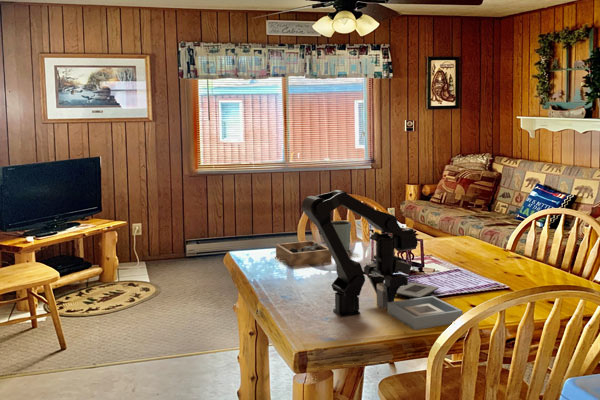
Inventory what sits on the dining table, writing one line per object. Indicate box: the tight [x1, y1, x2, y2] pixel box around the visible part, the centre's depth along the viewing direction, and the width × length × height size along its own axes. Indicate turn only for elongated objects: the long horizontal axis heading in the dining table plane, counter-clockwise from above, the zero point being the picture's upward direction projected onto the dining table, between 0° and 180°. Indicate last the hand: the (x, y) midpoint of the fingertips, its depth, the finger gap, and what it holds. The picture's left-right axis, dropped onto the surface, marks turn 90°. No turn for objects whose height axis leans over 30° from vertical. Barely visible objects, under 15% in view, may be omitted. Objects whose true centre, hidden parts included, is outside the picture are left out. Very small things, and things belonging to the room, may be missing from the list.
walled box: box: [387, 295, 464, 331], centre depth 202 cm, size 16×16×4 cm
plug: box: [376, 282, 395, 309], centre depth 214 cm, size 4×4×7 cm
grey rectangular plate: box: [395, 282, 440, 299], centre depth 226 cm, size 13×10×2 cm
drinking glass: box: [331, 220, 352, 253], centre depth 291 cm, size 10×10×12 cm
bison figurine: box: [289, 241, 322, 253], centre depth 276 cm, size 12×7×10 cm
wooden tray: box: [275, 240, 333, 267], centre depth 277 cm, size 17×19×5 cm
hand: (385, 301), depth 214 cm, fingers open, 7 cm apart
